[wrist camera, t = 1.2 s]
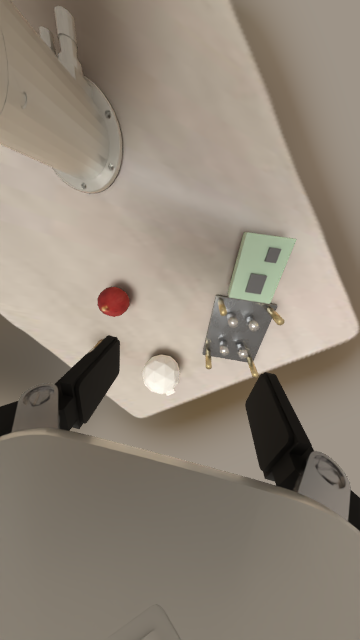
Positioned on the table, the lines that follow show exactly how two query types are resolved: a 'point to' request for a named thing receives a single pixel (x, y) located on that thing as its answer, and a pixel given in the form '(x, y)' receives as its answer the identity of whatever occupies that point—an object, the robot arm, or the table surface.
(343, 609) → the robot arm
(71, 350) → the table surface
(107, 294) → the onion
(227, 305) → the chassis
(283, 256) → the board
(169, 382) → the perfume bottle
